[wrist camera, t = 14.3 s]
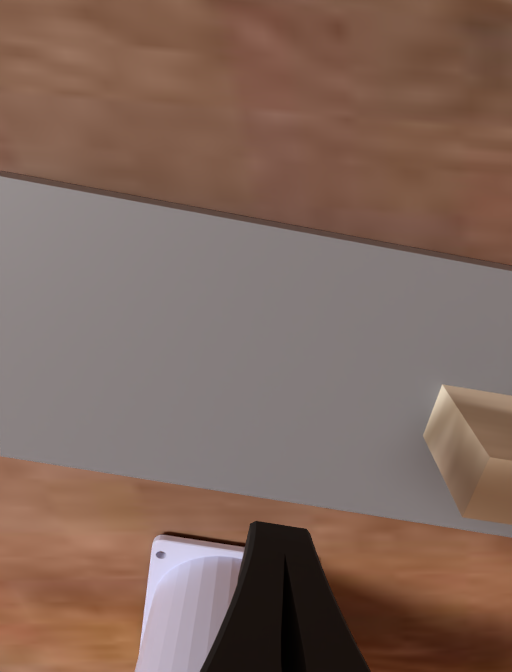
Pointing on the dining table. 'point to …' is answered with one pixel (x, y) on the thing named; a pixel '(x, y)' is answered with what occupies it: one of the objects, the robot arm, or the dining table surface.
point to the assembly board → (238, 350)
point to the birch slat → (474, 450)
